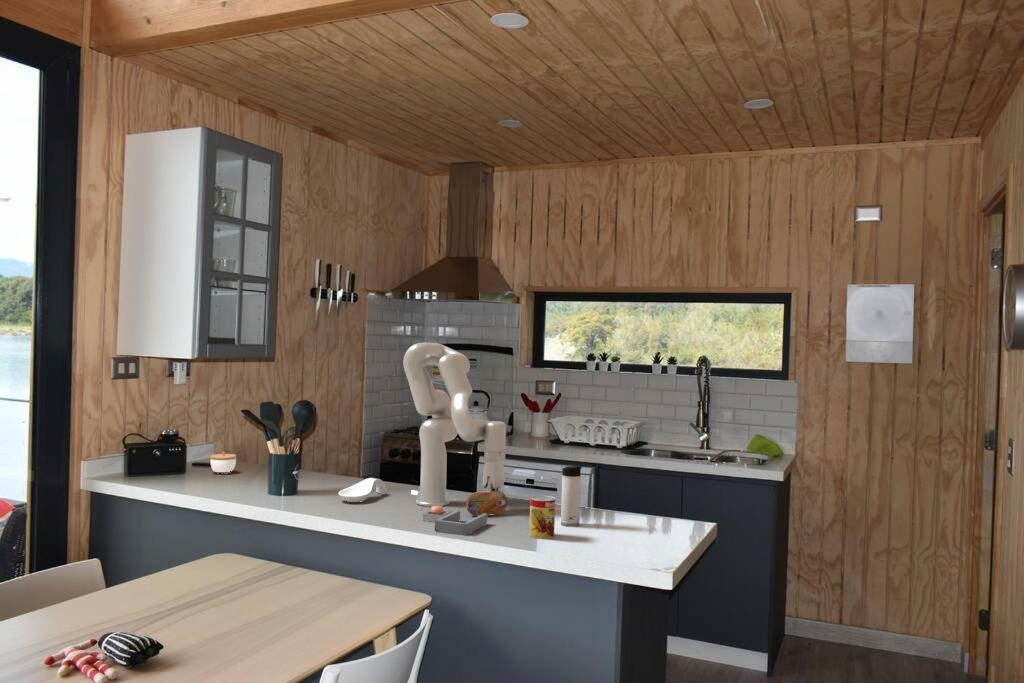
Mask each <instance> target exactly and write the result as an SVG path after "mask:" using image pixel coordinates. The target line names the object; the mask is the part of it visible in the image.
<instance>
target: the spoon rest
mask: <svg viewBox="0 0 1024 683" xmlns="http://www.w3.org/2000/svg"><path fill="white" fill-rule="evenodd" d="M374 484H375V493H376V492H378V493H386V494H387V488H386V485H385V483H384V480H382V479H380V478H374V477H369V478H365V479H363V480H361V481H360V482H357V483H355V484H353V485H351V486H348V487H346V488H343V489H341V490H339V492H338V496H339V498H341V500H343V501H344V502H346V501H347V502H346V503H349V502H360V501H363V502H364V501H365V500H367V499H368V498H369V496H371V493H372V491H373V487H374ZM378 493H377V494H378ZM360 503H361V502H360Z"/></svg>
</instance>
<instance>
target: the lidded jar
mask: <svg viewBox="0 0 1024 683" xmlns="http://www.w3.org/2000/svg"><path fill="white" fill-rule="evenodd" d="M209 459H210V466H211V467H210V468H211V469H212V471H213V472H214V473H215V472H230V471H231V472H232V471H234V469H235V467H236V463H237V455H236V454H234V453H226V452H225V451H222V452H221V453H216V454H215V453H214V454H211V455H210V456H209ZM231 472H230V473H231Z"/></svg>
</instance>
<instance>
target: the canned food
mask: <svg viewBox="0 0 1024 683" xmlns="http://www.w3.org/2000/svg"><path fill="white" fill-rule="evenodd" d="M529 500H530V501H529V502H530V503H529V537H531V538H533V539H537V538H538V539H539V540H547V539H549V540H550V539H553V538H554V537H555V522H556V520H555V517H556V497H554V496H550V495H532V496H530V499H529Z"/></svg>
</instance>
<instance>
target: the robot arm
mask: <svg viewBox="0 0 1024 683" xmlns="http://www.w3.org/2000/svg"><path fill="white" fill-rule="evenodd" d="M402 361H403V365H402V366H403V370H404V373H405V376H406V378H407V381H408V384H409V388H410V392H411V395H412V399H413V403H414V406H415V410H416V411H417V413H418V414H420V415H421V416H426V417H428V416H431V417H432V418H428V419H426V420H425V421H423V423H422V424H421V425H420V427H419V433H418V434H419V440H420V441H419V442H420V454H421V455H420V484H419V485H420V486H419V487H420V488H419V489H420V490H416V489H414V490H413V489H412V490H411V491H410V495H411V497H416V499H415V504H417V505H418V504H419V506H424V507H432V506H442V507H443V506H447V505H449V504H450V503H451V500H450V499H449V498H447V496H446V495H447V468H448V467H447V465H448V464H447V463H448V461H447V460H448V459H447V458H448V457H447V456H448V454H447V449H446V444H445V443H447V442H450V441H453V440H454V439H456V437H457V436H459V437H460V438H461V439H462V440H463V441H464V442H467V443H470V442H476V441H481V440H484V451H483V452H484V454H483V455H484V458H483V459H484V463H483V464H484V465H483V472H482V473H483V474H482V488H483V489H486V491H500V489H501V487H502V486H503V485H504V481H505V464H504V462H505V461H506V443H507V442H506V441H507V440H506V439H507V437H506V436H507V425H506V423H505V422H504V421H501V420H499V421H498V420H487V419H482V418H477V419H473V417H472V415H471V413H470V412H471V411H470V409H469V399H470V398H471V395H472V393H473V388H472V386H471V383H470V381H469V378H468V376H467V374H468V373H469V371H470V369H471V362H470V360H469V358H468V357H467V356H466V355H464V354H463V353H461V352H459V351H457V350H455V349H453V348H451V347H448V346H446V345H444V344H442V343H438V342H418V343H415V344H413V345H411V346H410V347H409V348H407V350H406V352H405V353H404V356H403V360H402ZM427 366H436V367H437V368H438V370H439V373H440V375H441V379H442V380H443V383H444V385H445V387H446V390H447V392H445V391H444V390H442V389H435V387H434V384H433V380H432V377H431V375H430V373H429V371H428V370H427V368H426V367H427ZM447 393H448V394H449V395H448V394H447Z"/></svg>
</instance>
